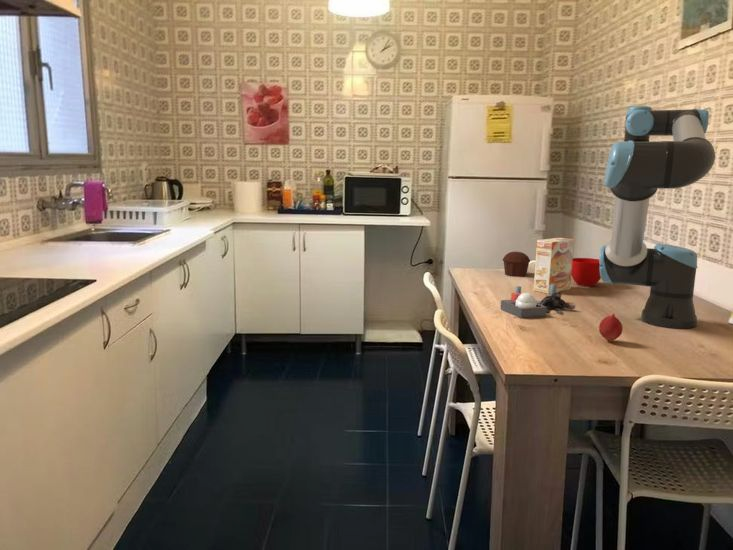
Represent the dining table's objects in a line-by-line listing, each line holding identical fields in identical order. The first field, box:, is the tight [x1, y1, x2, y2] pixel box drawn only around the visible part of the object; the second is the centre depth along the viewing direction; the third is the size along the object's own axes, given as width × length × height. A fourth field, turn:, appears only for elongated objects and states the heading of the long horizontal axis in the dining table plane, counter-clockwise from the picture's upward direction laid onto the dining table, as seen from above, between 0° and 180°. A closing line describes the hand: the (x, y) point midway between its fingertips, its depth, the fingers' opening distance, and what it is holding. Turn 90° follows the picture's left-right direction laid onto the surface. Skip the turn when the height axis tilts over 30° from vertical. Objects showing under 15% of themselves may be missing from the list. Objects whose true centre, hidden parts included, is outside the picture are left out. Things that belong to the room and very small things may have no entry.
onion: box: [598, 312, 623, 343], centre depth 157 cm, size 6×6×8 cm
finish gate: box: [514, 284, 556, 304], centre depth 201 cm, size 2×16×6 cm, turn 108°
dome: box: [516, 292, 538, 308], centre depth 185 cm, size 6×6×6 cm
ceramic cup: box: [571, 257, 602, 288], centre depth 232 cm, size 13×17×10 cm
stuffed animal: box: [539, 291, 576, 315], centre depth 193 cm, size 12×10×12 cm
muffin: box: [502, 251, 531, 278], centre depth 253 cm, size 12×11×10 cm
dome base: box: [500, 292, 547, 319], centre depth 187 cm, size 12×9×5 cm
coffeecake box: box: [533, 237, 575, 295], centre depth 221 cm, size 15×7×20 cm, turn 129°
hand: (628, 228), depth 194 cm, fingers closed
